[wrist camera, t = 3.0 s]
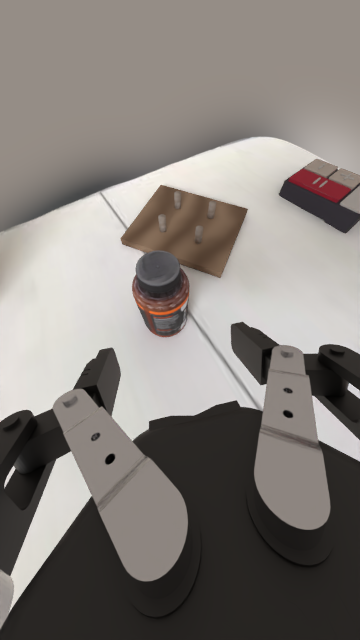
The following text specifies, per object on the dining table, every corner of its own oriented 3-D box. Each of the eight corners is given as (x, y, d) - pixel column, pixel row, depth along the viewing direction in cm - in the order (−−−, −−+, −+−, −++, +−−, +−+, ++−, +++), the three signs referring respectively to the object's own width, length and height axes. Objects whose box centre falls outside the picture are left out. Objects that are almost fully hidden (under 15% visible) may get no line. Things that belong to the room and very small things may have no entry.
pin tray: (122, 244, 32) (115, 225, 29) (161, 191, 38) (159, 170, 34) (220, 277, 29) (225, 261, 26) (245, 214, 35) (252, 195, 32)
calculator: (316, 155, 38) (393, 184, 33) (304, 178, 42) (371, 208, 37) (285, 176, 35) (365, 212, 30) (275, 199, 39) (344, 234, 34)
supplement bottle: (194, 323, 26) (205, 273, 16) (160, 346, 25) (146, 309, 14) (171, 294, 28) (167, 232, 18) (137, 314, 27) (111, 260, 16)
